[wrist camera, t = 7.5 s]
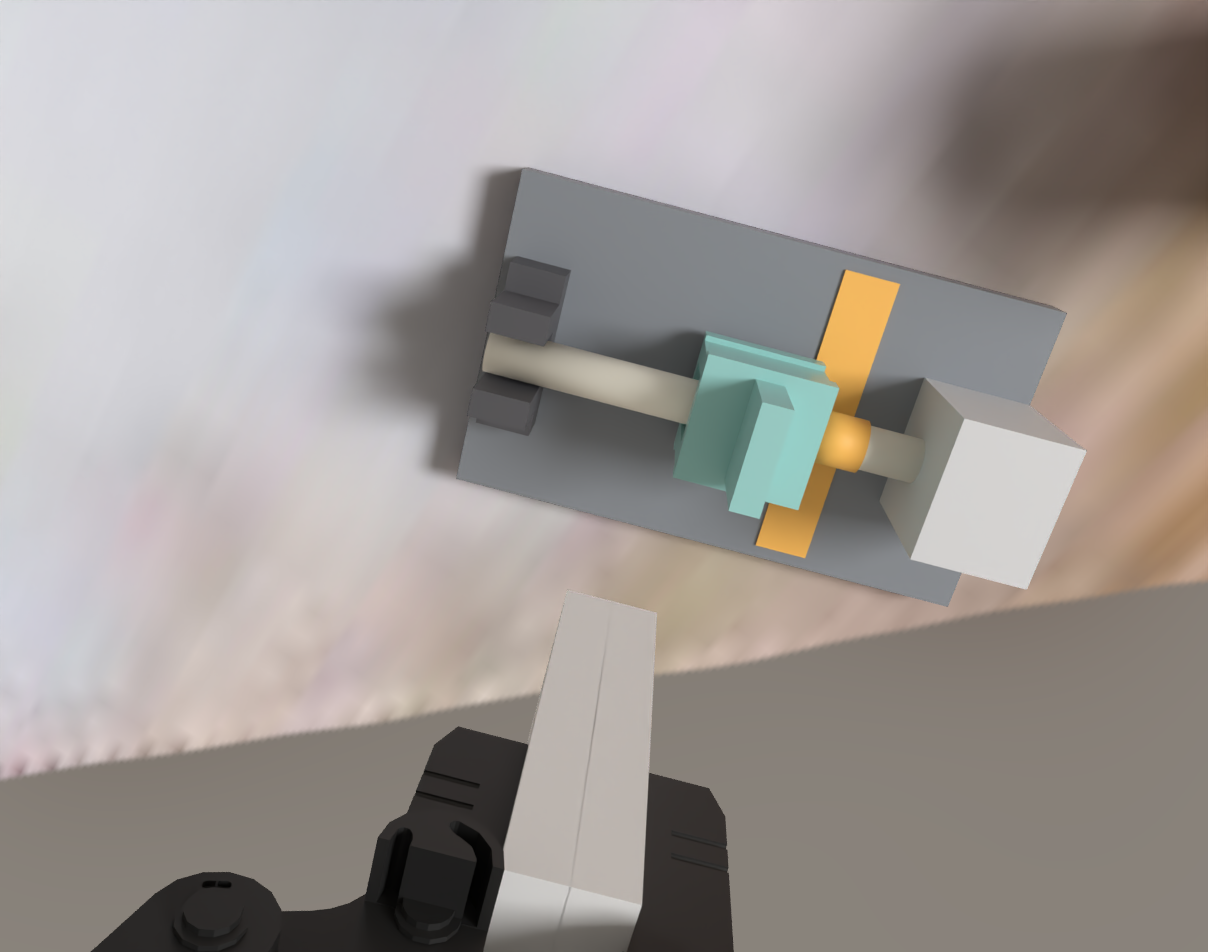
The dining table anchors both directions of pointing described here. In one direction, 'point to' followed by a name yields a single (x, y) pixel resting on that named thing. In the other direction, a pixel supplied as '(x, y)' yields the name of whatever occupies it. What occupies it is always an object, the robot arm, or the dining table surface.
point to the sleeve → (754, 423)
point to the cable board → (787, 323)
